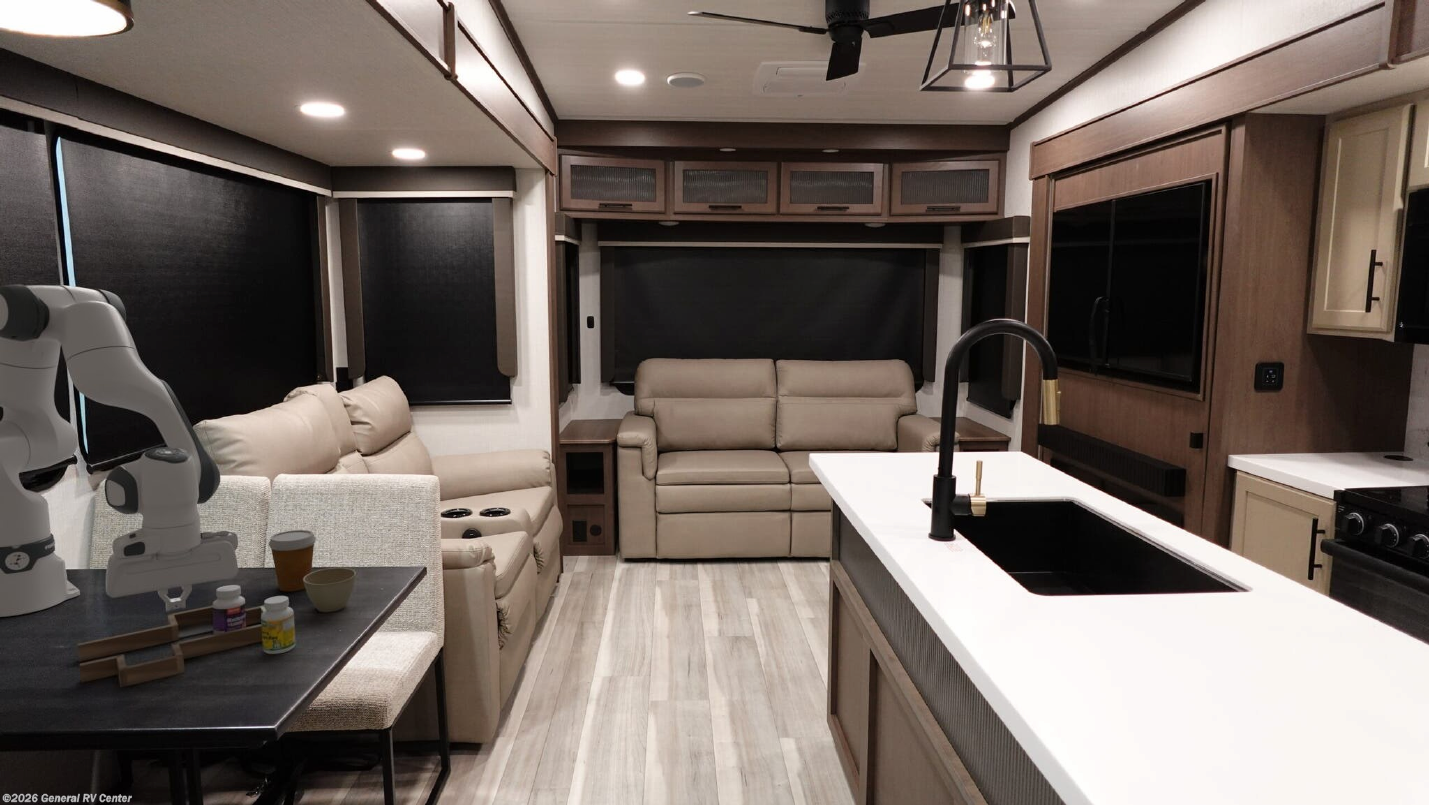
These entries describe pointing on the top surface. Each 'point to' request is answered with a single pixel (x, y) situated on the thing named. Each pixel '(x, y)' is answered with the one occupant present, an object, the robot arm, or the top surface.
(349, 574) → the flower pot
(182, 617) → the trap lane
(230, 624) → the pill bottle
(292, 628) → the supplement bottle
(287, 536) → the disposable coffee cup
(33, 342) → the robot arm
